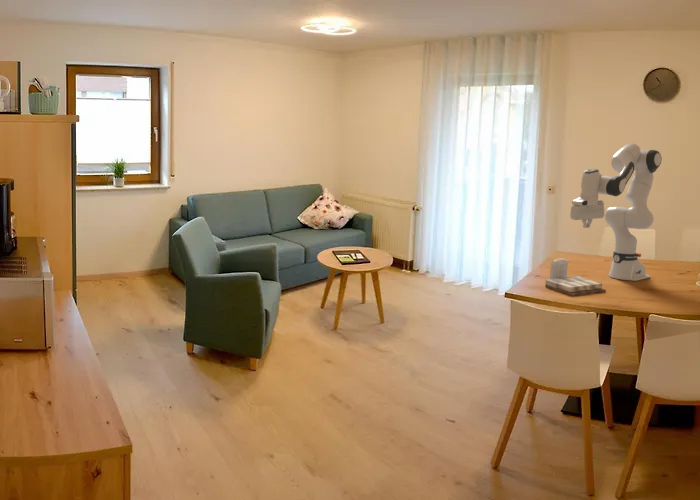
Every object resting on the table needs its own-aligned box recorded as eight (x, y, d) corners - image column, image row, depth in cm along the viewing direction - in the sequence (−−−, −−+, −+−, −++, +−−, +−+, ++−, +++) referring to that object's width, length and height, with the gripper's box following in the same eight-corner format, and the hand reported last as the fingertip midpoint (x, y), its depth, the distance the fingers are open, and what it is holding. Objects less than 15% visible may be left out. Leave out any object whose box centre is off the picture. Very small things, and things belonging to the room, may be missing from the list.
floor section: (577, 282, 370) (577, 276, 370) (605, 291, 353) (606, 284, 352) (545, 286, 361) (545, 279, 360) (572, 296, 343) (573, 289, 343)
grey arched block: (561, 278, 378) (563, 256, 376) (567, 280, 375) (569, 258, 372) (548, 281, 373) (550, 258, 370) (554, 282, 369) (556, 260, 367)
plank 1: (572, 286, 358) (573, 281, 357) (585, 290, 350) (585, 285, 350) (557, 288, 353) (557, 283, 353) (569, 292, 345) (569, 287, 345)
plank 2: (588, 284, 363) (589, 279, 362) (601, 288, 355) (602, 283, 354) (573, 286, 358) (573, 281, 358) (586, 290, 350) (586, 285, 350)
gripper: (599, 199, 363) (597, 225, 366) (569, 201, 354) (567, 227, 357) (608, 200, 358) (606, 227, 360) (578, 202, 349) (576, 229, 352)
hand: (586, 227), depth 359 cm, fingers closed
